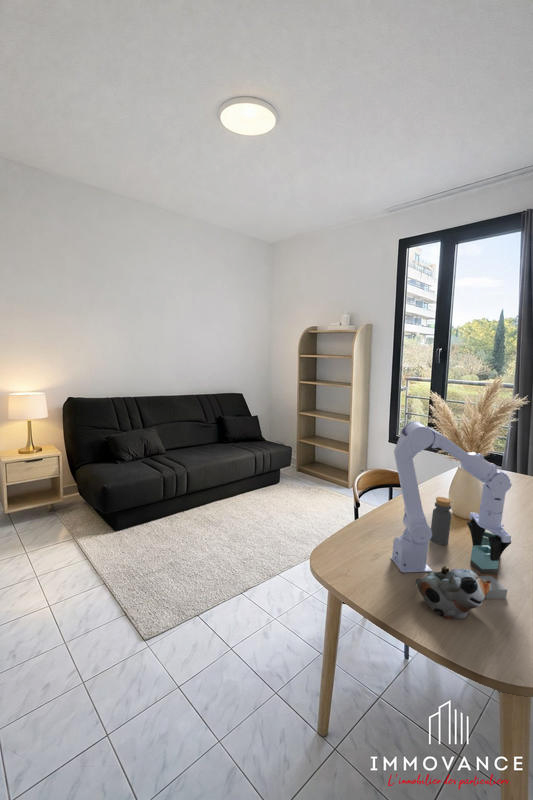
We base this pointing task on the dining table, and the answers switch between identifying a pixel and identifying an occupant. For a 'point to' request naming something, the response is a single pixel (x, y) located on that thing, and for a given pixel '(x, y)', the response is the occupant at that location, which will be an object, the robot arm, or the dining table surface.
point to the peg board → (486, 542)
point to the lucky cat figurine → (453, 591)
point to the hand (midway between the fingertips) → (485, 552)
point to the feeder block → (494, 588)
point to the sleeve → (483, 560)
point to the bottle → (441, 521)
